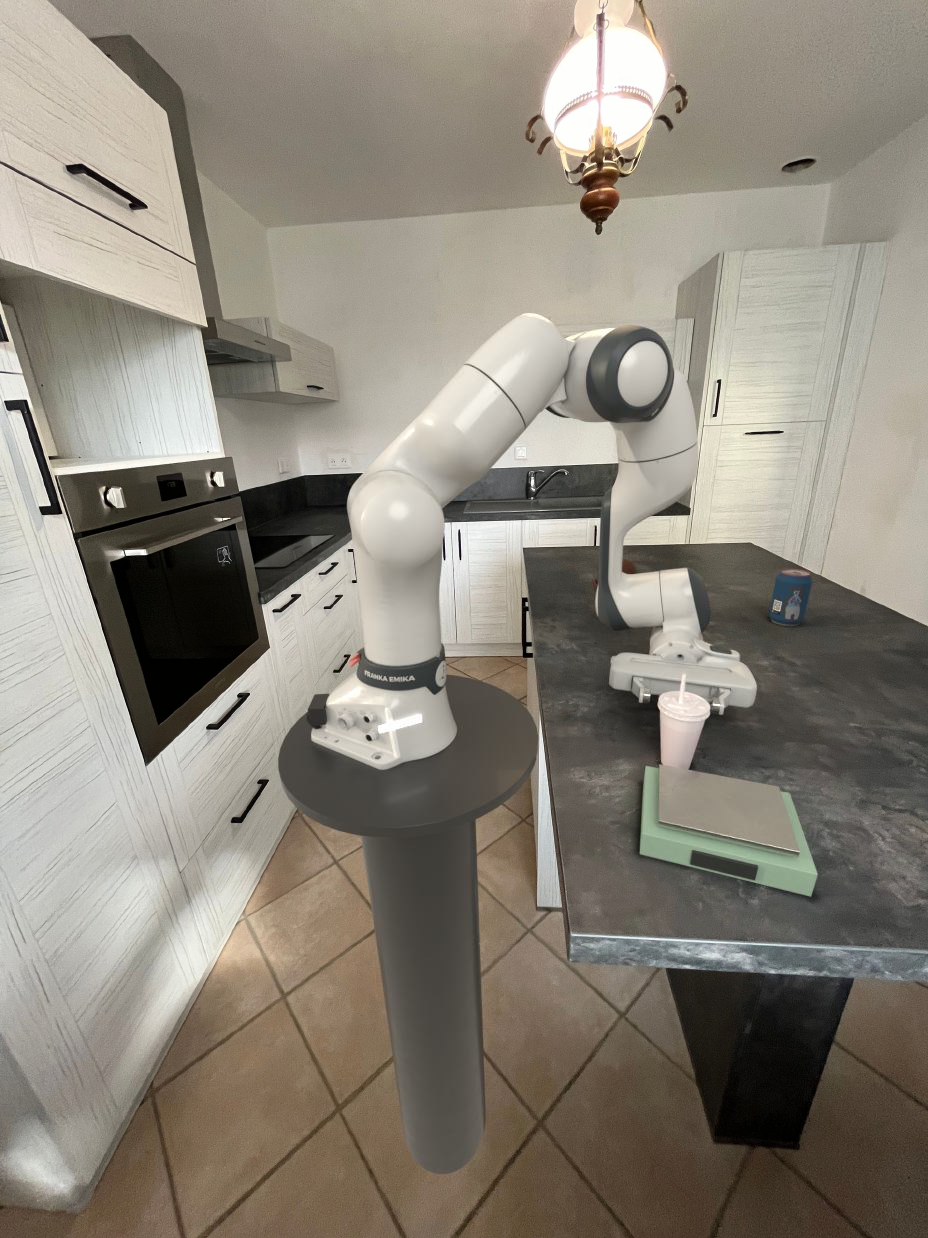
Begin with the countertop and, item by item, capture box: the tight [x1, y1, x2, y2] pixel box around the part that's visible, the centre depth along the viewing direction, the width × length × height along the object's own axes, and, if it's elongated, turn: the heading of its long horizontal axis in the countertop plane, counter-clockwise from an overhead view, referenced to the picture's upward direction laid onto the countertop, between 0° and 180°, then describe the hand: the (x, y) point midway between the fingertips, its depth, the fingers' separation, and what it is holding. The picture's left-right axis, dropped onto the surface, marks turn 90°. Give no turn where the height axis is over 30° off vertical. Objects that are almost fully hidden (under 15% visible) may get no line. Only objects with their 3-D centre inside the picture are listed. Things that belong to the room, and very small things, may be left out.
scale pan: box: [658, 763, 800, 858], centre depth 54 cm, size 13×10×1 cm
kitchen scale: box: [639, 765, 819, 898], centre depth 55 cm, size 16×12×3 cm
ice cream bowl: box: [591, 558, 637, 593], centre depth 116 cm, size 11×11×15 cm
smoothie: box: [657, 673, 711, 770], centre depth 65 cm, size 6×6×14 cm
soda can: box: [768, 568, 813, 627], centre depth 112 cm, size 7×7×12 cm
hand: (680, 704), depth 68 cm, fingers open, 8 cm apart
